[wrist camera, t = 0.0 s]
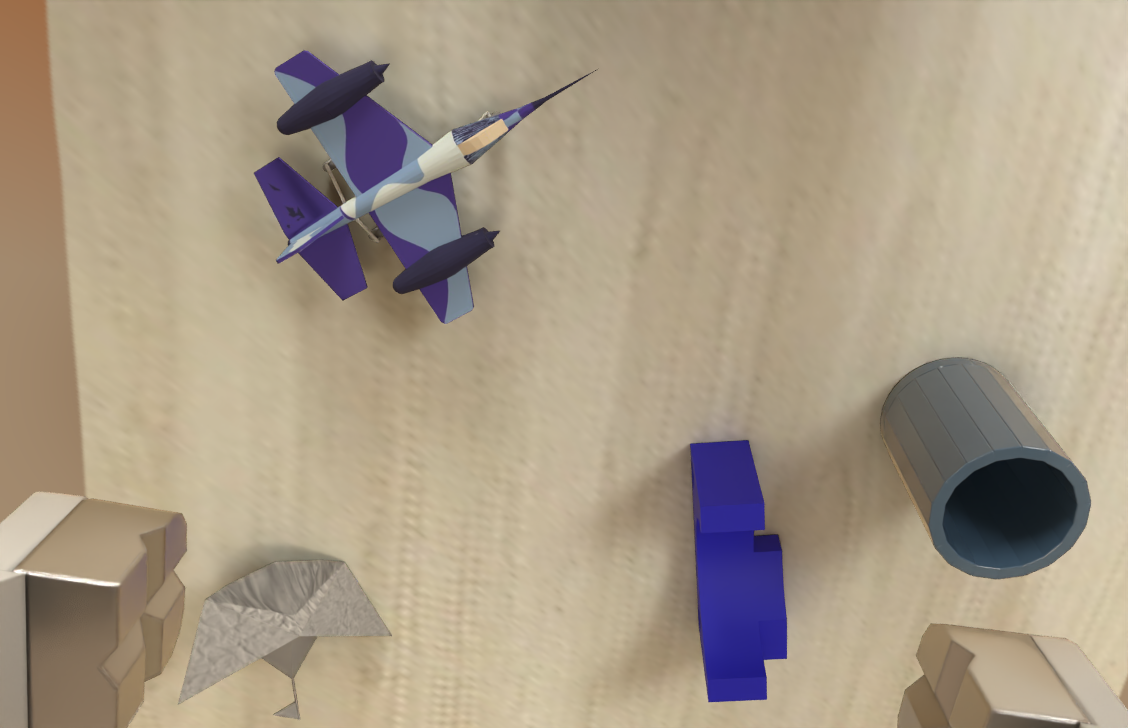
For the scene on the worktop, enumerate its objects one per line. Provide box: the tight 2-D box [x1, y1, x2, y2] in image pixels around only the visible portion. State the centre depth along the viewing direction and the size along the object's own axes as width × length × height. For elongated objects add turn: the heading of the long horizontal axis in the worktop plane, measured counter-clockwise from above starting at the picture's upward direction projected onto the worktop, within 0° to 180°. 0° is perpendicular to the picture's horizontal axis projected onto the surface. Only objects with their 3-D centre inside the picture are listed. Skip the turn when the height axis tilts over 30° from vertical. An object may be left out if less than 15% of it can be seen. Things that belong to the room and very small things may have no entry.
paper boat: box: [178, 560, 392, 720], centre depth 57 cm, size 12×6×9 cm
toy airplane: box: [254, 51, 598, 324], centre depth 47 cm, size 13×14×4 cm
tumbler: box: [880, 358, 1091, 579], centre depth 50 cm, size 7×7×9 cm
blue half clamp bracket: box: [690, 440, 787, 702], centre depth 54 cm, size 12×4×6 cm, turn 5°
